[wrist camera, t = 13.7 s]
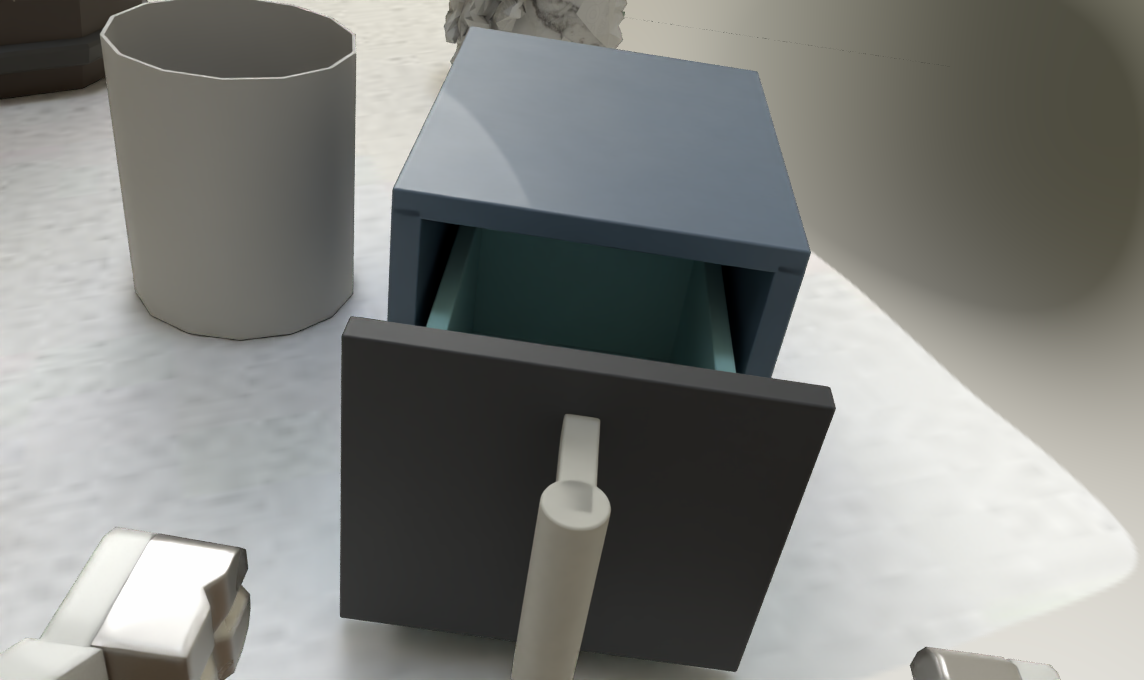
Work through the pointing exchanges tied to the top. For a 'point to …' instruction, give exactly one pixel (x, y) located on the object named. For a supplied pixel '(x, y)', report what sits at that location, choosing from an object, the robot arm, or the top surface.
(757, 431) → the drawer with handle
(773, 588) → the top surface
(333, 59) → the cup
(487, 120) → the blue cabinet
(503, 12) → the bust
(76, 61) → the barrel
